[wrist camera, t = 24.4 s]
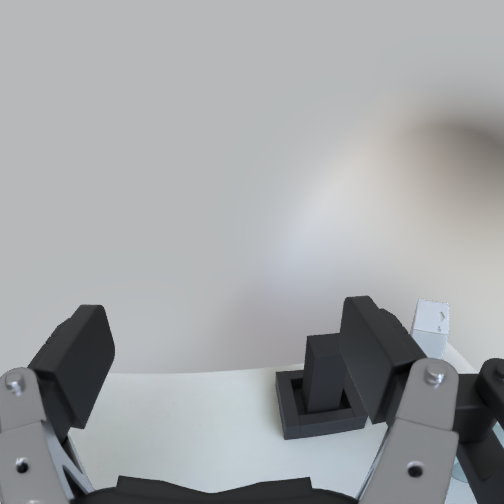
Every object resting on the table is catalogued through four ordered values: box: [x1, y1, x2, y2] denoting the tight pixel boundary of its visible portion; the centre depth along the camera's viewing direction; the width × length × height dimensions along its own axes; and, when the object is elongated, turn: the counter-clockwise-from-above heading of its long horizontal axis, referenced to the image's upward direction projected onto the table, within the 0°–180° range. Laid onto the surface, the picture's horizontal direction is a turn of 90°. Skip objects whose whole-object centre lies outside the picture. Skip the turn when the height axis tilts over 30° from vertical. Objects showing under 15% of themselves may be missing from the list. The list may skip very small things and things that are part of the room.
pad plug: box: [301, 333, 347, 415], centre depth 35 cm, size 4×4×10 cm
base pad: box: [276, 369, 368, 440], centre depth 36 cm, size 10×10×3 cm
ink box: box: [410, 299, 449, 359], centre depth 37 cm, size 8×5×12 cm, turn 149°
